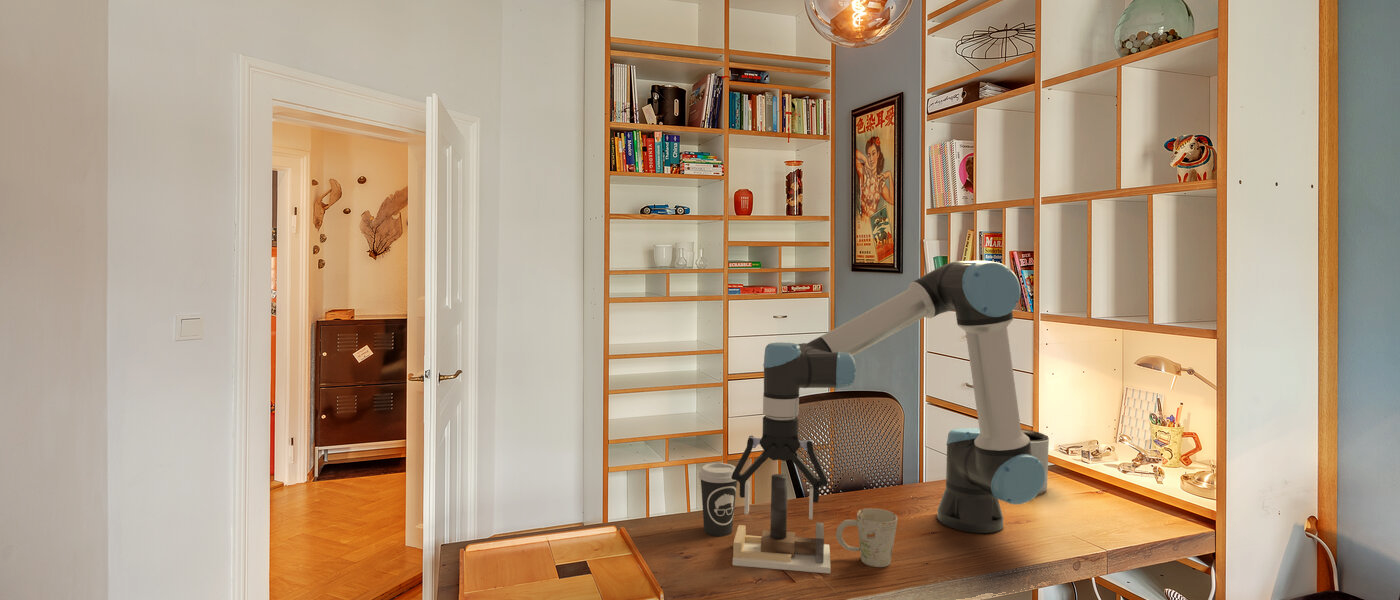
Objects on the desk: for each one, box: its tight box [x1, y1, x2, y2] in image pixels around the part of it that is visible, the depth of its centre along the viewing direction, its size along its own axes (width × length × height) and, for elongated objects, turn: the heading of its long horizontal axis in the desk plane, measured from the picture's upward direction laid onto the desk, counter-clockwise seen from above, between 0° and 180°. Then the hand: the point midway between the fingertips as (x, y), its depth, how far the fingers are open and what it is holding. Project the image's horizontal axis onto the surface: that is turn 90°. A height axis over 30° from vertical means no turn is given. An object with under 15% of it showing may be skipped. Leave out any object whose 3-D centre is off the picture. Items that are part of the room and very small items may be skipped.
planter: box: [1021, 428, 1050, 495], centre depth 199 cm, size 16×16×16 cm
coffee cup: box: [698, 462, 738, 537], centre depth 164 cm, size 10×10×15 cm
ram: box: [761, 473, 825, 563], centre depth 149 cm, size 13×9×16 cm
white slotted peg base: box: [732, 524, 832, 574], centre depth 150 cm, size 20×12×4 cm, turn 81°
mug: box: [835, 507, 898, 568], centre depth 149 cm, size 8×13×10 cm, turn 78°
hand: (778, 514), depth 150 cm, fingers open, 13 cm apart
